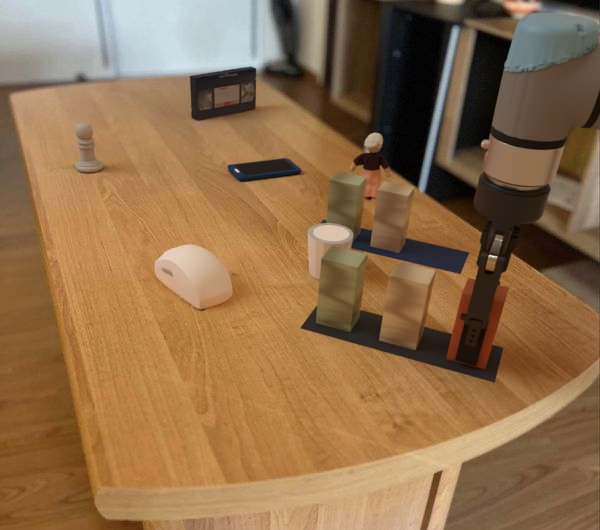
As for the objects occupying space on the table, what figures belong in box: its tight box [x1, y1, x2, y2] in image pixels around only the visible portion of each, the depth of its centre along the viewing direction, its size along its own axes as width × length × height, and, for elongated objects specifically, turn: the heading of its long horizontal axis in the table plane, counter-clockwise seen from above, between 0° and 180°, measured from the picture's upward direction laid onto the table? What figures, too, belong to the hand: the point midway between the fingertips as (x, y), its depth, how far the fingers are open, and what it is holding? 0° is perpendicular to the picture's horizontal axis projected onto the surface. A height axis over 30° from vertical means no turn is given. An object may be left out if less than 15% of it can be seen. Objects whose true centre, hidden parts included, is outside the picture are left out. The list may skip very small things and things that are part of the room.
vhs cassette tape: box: [189, 66, 257, 121], centre depth 156 cm, size 18×3×10 cm, turn 130°
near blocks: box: [316, 246, 437, 350], centre depth 83 cm, size 14×4×10 cm, turn 68°
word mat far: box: [306, 219, 470, 275], centre depth 106 cm, size 26×8×1 cm, turn 68°
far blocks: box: [325, 171, 416, 253], centre depth 104 cm, size 13×4×10 cm, turn 68°
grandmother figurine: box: [349, 132, 392, 203], centre depth 117 cm, size 8×4×13 cm, turn 88°
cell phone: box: [227, 157, 302, 182], centre depth 129 cm, size 7×14×1 cm, turn 115°
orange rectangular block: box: [446, 277, 510, 369], centre depth 79 cm, size 5×4×10 cm
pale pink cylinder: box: [307, 222, 354, 280], centre depth 96 cm, size 7×7×7 cm
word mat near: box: [300, 305, 504, 384], centre depth 85 cm, size 26×8×1 cm, turn 68°
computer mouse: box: [154, 243, 233, 310], centre depth 91 cm, size 6×13×6 cm, turn 42°
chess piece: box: [74, 122, 104, 174], centre depth 123 cm, size 5×5×9 cm
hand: (469, 351), depth 82 cm, fingers closed on orange rectangular block, 4 cm apart
